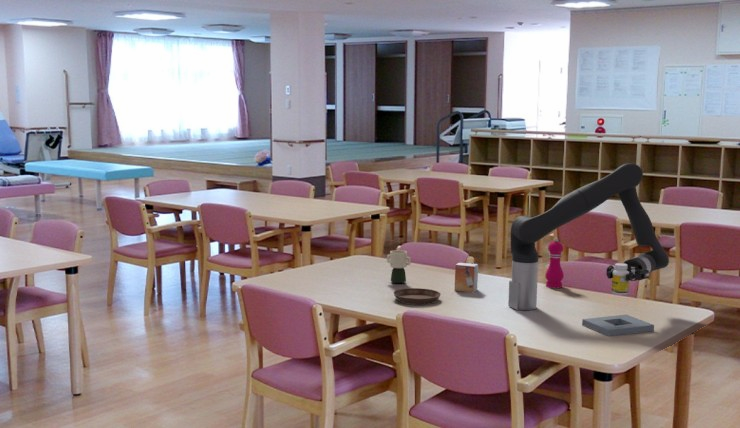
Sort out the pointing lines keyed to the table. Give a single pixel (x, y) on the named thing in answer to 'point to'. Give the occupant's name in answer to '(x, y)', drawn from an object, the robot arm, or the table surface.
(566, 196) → the robot arm
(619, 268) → the supplement bottle
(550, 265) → the pepper mill
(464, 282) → the small box
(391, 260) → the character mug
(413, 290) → the plant saucer
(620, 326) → the hole board
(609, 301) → the table surface
